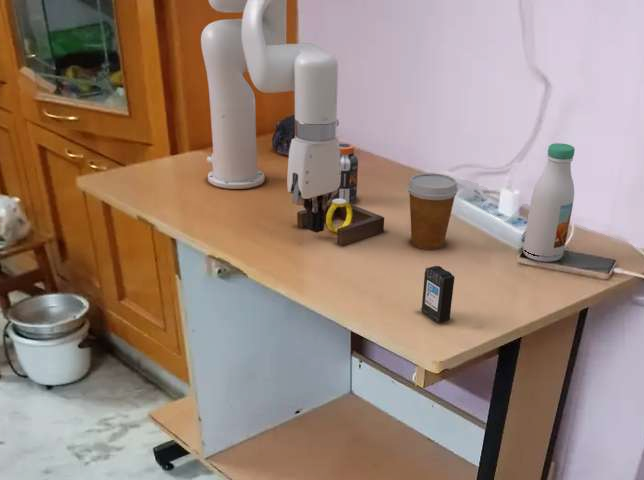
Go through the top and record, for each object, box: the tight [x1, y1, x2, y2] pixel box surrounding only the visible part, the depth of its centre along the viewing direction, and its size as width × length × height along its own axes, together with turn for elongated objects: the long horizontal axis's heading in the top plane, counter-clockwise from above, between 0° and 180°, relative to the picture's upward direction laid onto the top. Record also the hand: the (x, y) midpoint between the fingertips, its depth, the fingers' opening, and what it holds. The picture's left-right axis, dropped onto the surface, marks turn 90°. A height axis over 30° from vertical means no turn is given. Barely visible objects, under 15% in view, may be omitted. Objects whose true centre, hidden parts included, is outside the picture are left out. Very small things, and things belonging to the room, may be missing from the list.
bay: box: [296, 201, 385, 247], centre depth 167 cm, size 13×12×3 cm
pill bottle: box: [329, 142, 359, 204], centre depth 178 cm, size 6×6×11 cm
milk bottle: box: [522, 142, 576, 263], centre depth 156 cm, size 8×8×20 cm
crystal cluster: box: [271, 114, 295, 157], centre depth 205 cm, size 13×14×10 cm
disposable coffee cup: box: [406, 172, 459, 250], centre depth 160 cm, size 10×10×12 cm
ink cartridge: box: [420, 265, 456, 324], centre depth 137 cm, size 5×2×8 cm, turn 32°
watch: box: [325, 199, 353, 234], centre depth 166 cm, size 6×3×6 cm, turn 134°
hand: (315, 229), depth 163 cm, fingers closed
